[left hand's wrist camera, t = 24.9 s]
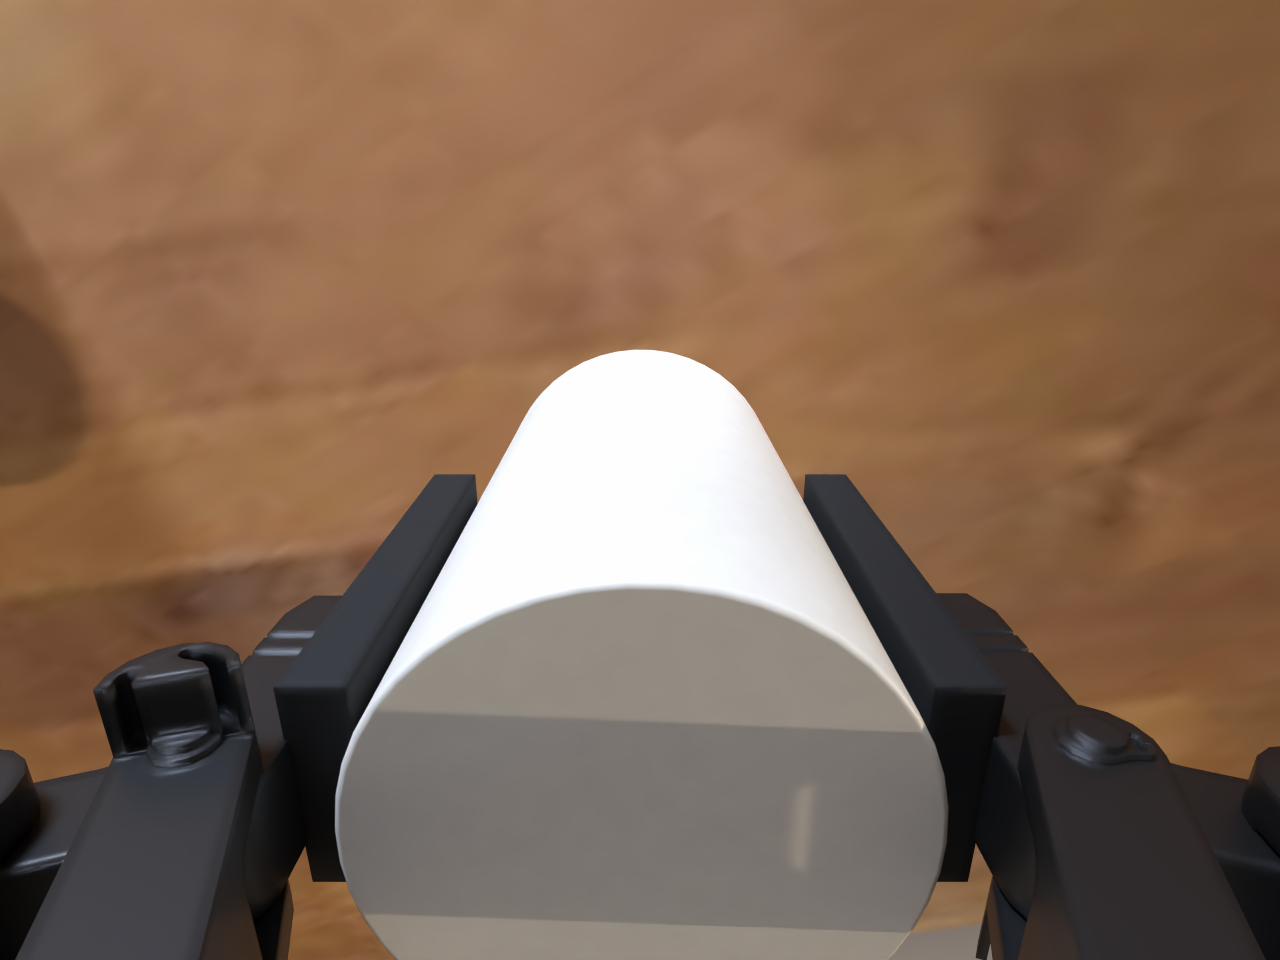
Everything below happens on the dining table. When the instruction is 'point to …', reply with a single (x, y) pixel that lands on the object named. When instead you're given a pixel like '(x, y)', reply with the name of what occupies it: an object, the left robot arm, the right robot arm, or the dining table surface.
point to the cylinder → (641, 709)
